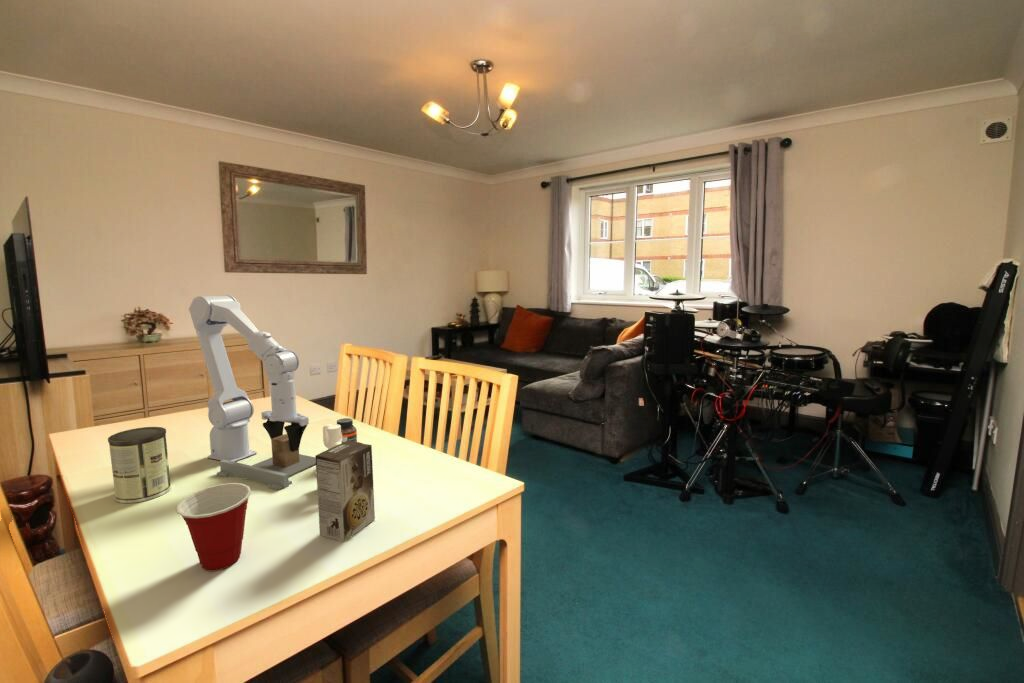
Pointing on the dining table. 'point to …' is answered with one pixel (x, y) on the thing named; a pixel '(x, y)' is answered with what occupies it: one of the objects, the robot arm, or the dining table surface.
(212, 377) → the robot arm
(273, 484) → the low wall
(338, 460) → the coffee box
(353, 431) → the supplement bottle
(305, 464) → the mat
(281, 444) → the walnut block
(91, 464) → the dining table surface
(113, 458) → the coffee can
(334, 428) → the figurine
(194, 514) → the plastic cup
